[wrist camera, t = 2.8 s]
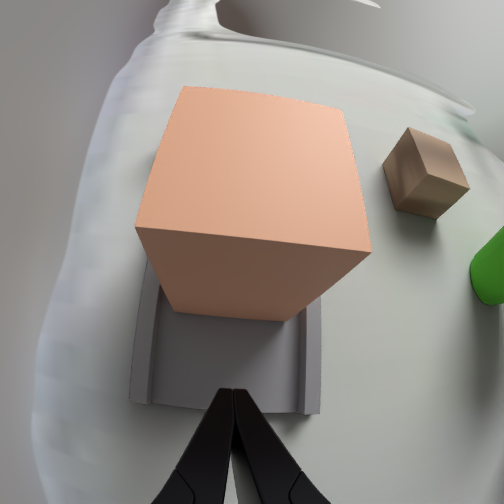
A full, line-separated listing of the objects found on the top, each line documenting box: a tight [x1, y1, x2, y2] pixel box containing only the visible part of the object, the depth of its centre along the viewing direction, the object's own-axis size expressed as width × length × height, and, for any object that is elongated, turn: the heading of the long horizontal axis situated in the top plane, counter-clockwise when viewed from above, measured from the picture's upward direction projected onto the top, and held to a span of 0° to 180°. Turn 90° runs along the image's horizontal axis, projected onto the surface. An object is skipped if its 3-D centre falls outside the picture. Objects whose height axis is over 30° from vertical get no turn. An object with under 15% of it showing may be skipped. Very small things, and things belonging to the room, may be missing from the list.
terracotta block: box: [135, 86, 372, 322], centre depth 12 cm, size 6×6×9 cm
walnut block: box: [383, 127, 470, 219], centre depth 20 cm, size 5×5×5 cm
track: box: [129, 258, 321, 415], centre depth 16 cm, size 20×10×4 cm, turn 177°
